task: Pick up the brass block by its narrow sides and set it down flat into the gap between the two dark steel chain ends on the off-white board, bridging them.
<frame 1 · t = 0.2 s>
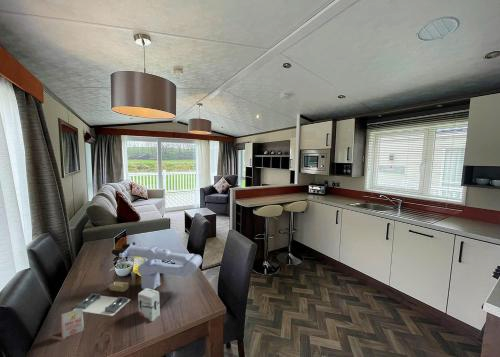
hand: (117, 249, 125), 21 cm above the table, tool horizontal, fingers open, 7 cm apart
chain ends: (102, 304, 107), resting on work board
ink box: (149, 316, 101), on the table
brass block: (119, 290, 120), on the table
tea bag: (73, 334, 90), on the table
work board: (102, 306, 107), on the table
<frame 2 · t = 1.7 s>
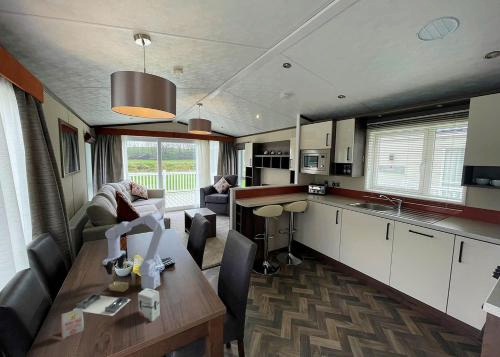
hand: (115, 270, 124), 9 cm above the table, tool pointing down, fingers open, 7 cm apart
nothing on the table moved.
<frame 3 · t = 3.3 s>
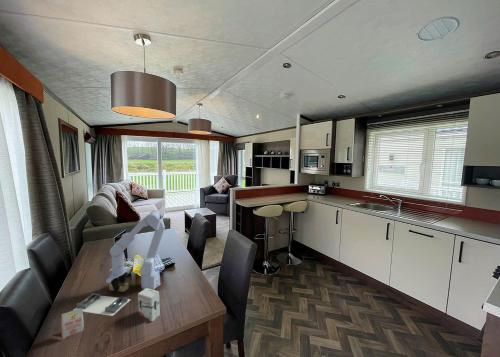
hand: (119, 288, 120), 1 cm above the table, tool pointing down, fingers closed on brass block, 4 cm apart
brass block: (119, 290, 120), on the table, touching gripper
everything else where it was.
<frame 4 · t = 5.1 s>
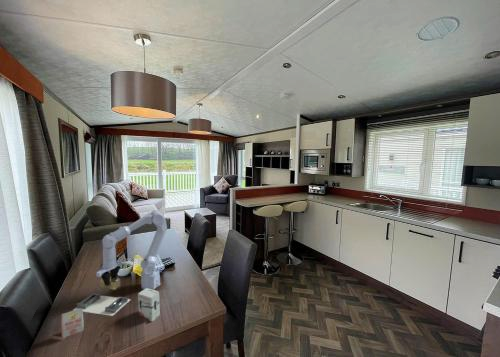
hand: (110, 282, 113), 8 cm above the table, tool pointing down, fingers closed on brass block, 4 cm apart
brass block: (110, 286, 113), point 6 cm above the table, touching gripper
everything else where it was.
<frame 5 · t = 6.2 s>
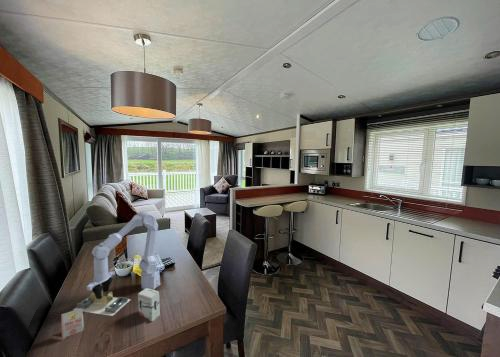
hand: (102, 295, 107), 6 cm above the table, tool pointing down, fingers closed on brass block, 4 cm apart
brass block: (101, 300, 107), point 3 cm above the table, touching gripper
everything else where it was.
when the fingers open (4 cm above the table, at t = 6.9 s): brass block stays where it is, resting on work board.
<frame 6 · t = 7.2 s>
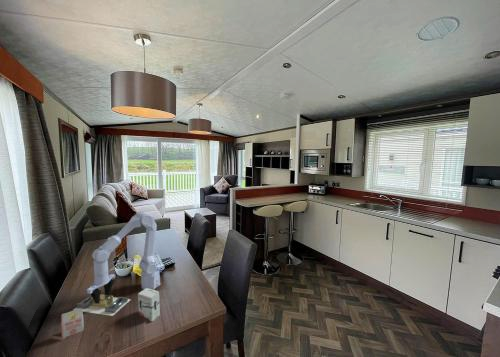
hand: (102, 298, 107), 4 cm above the table, tool pointing down, fingers open, 6 cm apart
brass block: (102, 304, 107), point 1 cm above the table, touching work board
everything else where it was.
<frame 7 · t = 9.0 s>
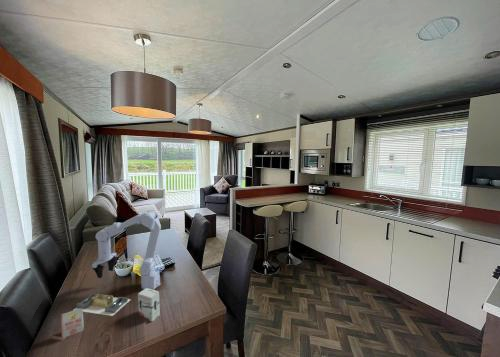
hand: (105, 274, 120), 9 cm above the table, tool pointing down, fingers open, 7 cm apart
nothing on the table moved.
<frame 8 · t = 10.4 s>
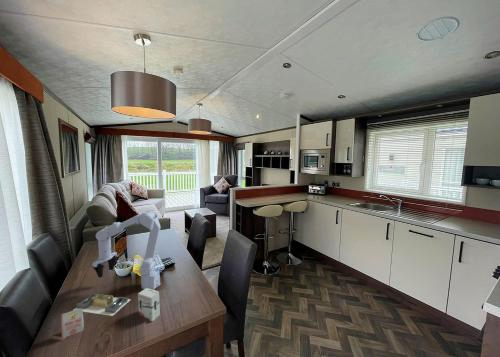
hand: (106, 273, 121), 9 cm above the table, tool pointing down, fingers open, 7 cm apart
nothing on the table moved.
at the end: brass block 0.4 cm off-centre on the chain ends, point 0.0 cm above the chain ends's base; brass block tilted 0°; the gripper is holding nothing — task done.
